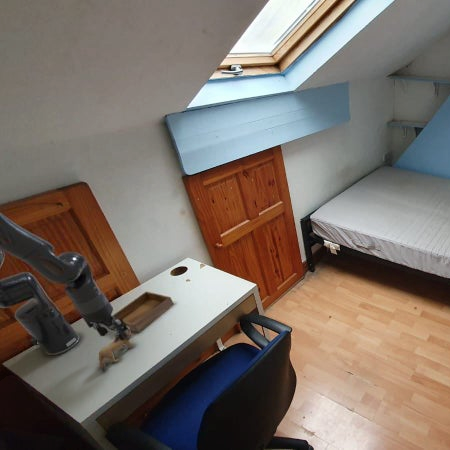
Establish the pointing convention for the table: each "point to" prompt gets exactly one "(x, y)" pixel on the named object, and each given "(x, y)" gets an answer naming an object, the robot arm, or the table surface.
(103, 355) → the lion figurine
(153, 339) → the table surface
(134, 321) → the brown wooden shallow box
